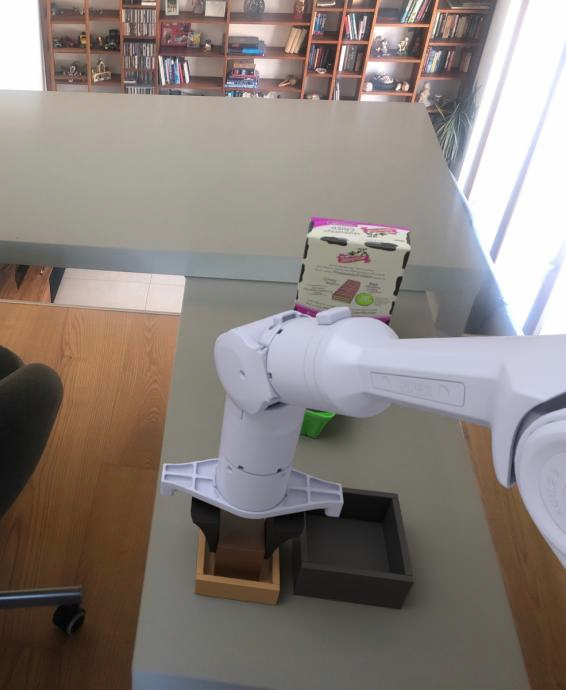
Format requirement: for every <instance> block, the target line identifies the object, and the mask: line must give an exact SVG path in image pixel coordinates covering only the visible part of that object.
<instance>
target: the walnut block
mask: <svg viewBox="0 0 566 690" xmlns="http://www.w3.org/2000/svg"><path fill="white" fill-rule="evenodd" d="M265 519H266V518H261V519H250V518H244V517H240V516H238V515H235V514H233V513H230V512H228V511H226V510H223V509H221V511H220V526H219V530H218V541H217V550H216V553H215V555H214V574H213V576H219V577H227V578H234V579H242V580H249V581H256V582H258V581H259V577H260V572H261V568H262V563H263V559H264V554H265Z"/></svg>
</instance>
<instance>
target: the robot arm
mask: <svg viewBox="0 0 566 690" xmlns="http://www.w3.org/2000/svg"><path fill="white" fill-rule="evenodd" d="M213 358H214V366H215V370H216V373H217V377H218V379H219V382H220V384H221V386H222V389H223V390H224V392H225V393H226V394H225V401H224V408H223V409H224V410H223V418H222V425H221V426H222V427H221V434H220V441H219V448H218V449H219V450H218V456H217V457H214V458H208V459H203V460H196V461H190V462H183V463H165V462H164V463H163V464H162V470H161V471H162V472H161V478H160V493H159V494H160V495H159V496H162V497H169V498H170V497H173V496H174V495H175V492H180V493H184V494H186V495H188V496H191V503H190V518H191V521H192V523H193V524H194V525H196V526H197V527H198V528H200V529H201V530H202V532H203V534H204V535H205V538H206V540H207V543H208V547H209V552H213V553H216V550H217V541H218V530H219V526H220V511H221V509H223V510H226V511H228V512H230V513H233V514H235V515H238V516H240V517H244V518H250V519H261V518H265V554H264V559H266V560H268V559H269V558H270V556H271V555H272V554H273V552H274V551H275V550H276V549H277V548H278V547H279V548H280V546H281V545H283V544H284V543H286V542H287V541H289V540H291V539H292V538H295V537H300V535H301V534H302V532H303V530H304V526H305V517H304V513H305V511H307V510H313V509H319V508H320V509H325V514H326V515H327V516H333V517H339V515H340V512H341V509H342V506H343V494H342V487H343V486H342V483H340V482H333V481H328V480H325V479H321V478H318V477H316V476H313V475H311V474H308V473H306V472H303V471H300V470H298V469H295V468H293V464H294V460H295V456H296V452H297V447H298V443H299V438H300V435H301V434H300V431H301V427H302V422H303V418H304V414H305V410H306V408H310V409H315V410H320V411H325V412H330V413H335V415H341V416H346V417H351V418H355V419H356V418H357V419H366V418H367V419H368V418H372V417H375V416H377V415H380V414H381V413H383V412H384V411H385V410H387V409H388V408H389V407H390V406H391V405H395V406H399V407H403V408H408V409H412V410H416V411H418V412H419V411H420V412H424V413H428V414H432V415H436V416H440V417H444V418H448V419H453V420H457V421H461V422H464V423H469V424H472V425H476V426H481V427H485V428H488V429H489V431H490V433H491V456H492V463H493V468H494V469H493V470H494V472H495V477H496V479H497V481H498V482H499V484H500V485H502V486H503V487H504V488H506V489H510V488H512V487H514V486H516V485H517V489H518V492H519V495H520V498H521V500H522V502H523V504H524V507H525V509H526V511H527V513H528V515H529V516H530V518H531V520H532V522H533V523H534V525H535V527H536V528H537V530H538V531H539V533H540V534H541V536H542V537H543V539H544V540H545V541H546V543H547V545H548V546H549V548H550V549H551V551H552V552H553V554H554V555H555V556H556V558H557V559H558V560H559V562H560V564H561V565H562V567H563V568H564V569H565V570H566V333H561V334H535V335H534V334H529V335H527V334H526V335H499V336H498V335H495V336H494V335H493V336H492V335H491V336H457V337H455V336H454V337H453V336H452V337H424V338H423V337H422V338H421V337H419V338H400V337H399V336H398V335H397V333H396V332H395V330H393V329H392V328H391V327H390V326H388V325H386V324H385V323H383V322H382V321H380V320H377V319H374V318H369V317H351V312H350V309H349V307H334V308H331V309H328V310H325V311H322V312H319V313H317V315H316V317H311V316H309V315H306V314H302V313H300V312H298V311H294V310H293V309H290V310H285V311H283V312H279V313H276V314H273V315H270V316H267V317H265V318H261V319H258V320H256V321H253V322H249V323H247V324H243V325H240V326H237V327H234V328H231V329H229V330H228V331H226V332H223V333H221V334H220V335H219V336H218V337H217V338H216V340H215V343H214V349H213Z"/></svg>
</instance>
